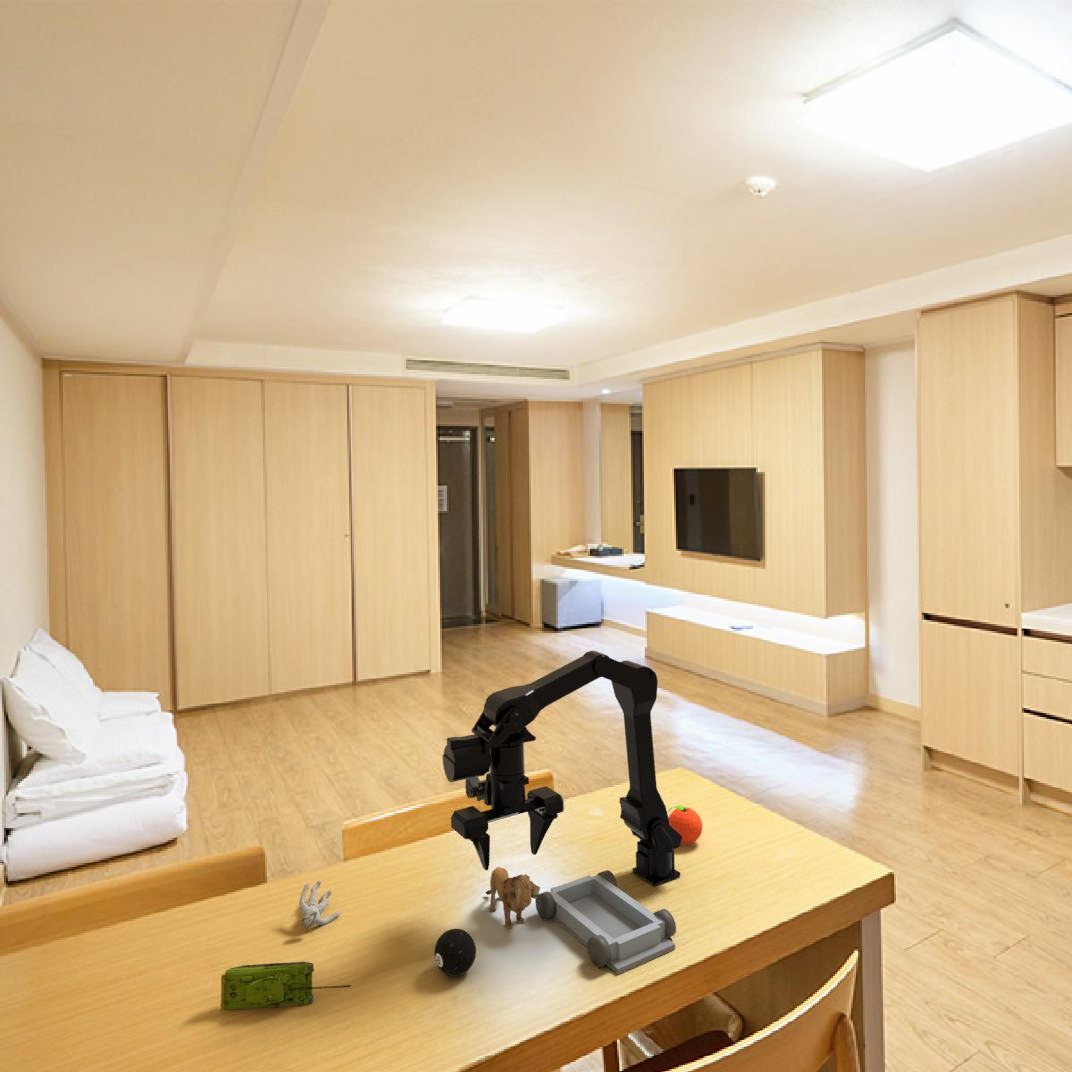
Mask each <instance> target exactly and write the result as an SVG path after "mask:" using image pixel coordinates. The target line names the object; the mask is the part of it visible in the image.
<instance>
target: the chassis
mask: <svg viewBox="0 0 1072 1072" xmlns="http://www.w3.org/2000/svg"><path fill="white" fill-rule="evenodd" d="M534 900H535V903H534V904H535V908H536V911H537V913H538V915H539V917H540V919H541V920H544V921H546V920H549V919H553V920H555V922H557V923H558V924H559V925H560V926H561V927H562V928H564V929H565V930H566V931H567V932H569V934H571V935H572V936H573V937H574V938H575V939H577V940H578V941H579V942H580V943H581V944H582V945H583V946H584V947H586V949H587V954H588V956H589V959H590V960H591V963H592V964H593V965H594V966H595V967H596V968H602V967H604V966H606V965H607V966H608V967H609V968H610V969H612V971H613V972H615V973H616V974H617V975H621V974H622V973H625V972H627V971H630V970H631V969H634V968H636V967H639V966H640V965H643V964H645V963H647V962H649V961H651V960H654V959H655V958H658V957H661V956H663V955H664V954H667V953H669V952H672V951H674V950H675V949H676V943H674V942H673V941H671V940H670V939H669V938H671V937H673V936H675V934H676V933H677V925H676V921H675V919H674V917H673V915H672V913H671V912H670V911H669V910H668V909H666V908H662V909H660V910H657V911H654V912H653V911H651V910H650V909H648V908H647V907H645V906H644V905H642V904H641V903H640V902H639V901H637V900H635V899H634V898H633V897H631V896H630V895H628V894H627V893H626V892H624V891H623V890H621V889H620V888H619V887H618V882H617V879H616V877H615V875H614V873H613V872H612V871H611V870H608V869H606V870H603V871H601V872H598V873H597V874H596V875H594V876H593V875H592V876H591V875H589V874H588V875H586V876H583V877H580V878H577V879H575V880H572V881H569V882H566V883H564V884H560V885H557V886H554V887H552V888H550V891H543V892H541V893H540V892H539V894H538V895H537V898H536V899H534Z"/></svg>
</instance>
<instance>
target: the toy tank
mask: <svg viewBox="0 0 1072 1072" xmlns="http://www.w3.org/2000/svg"><path fill="white" fill-rule="evenodd" d="M314 971H315V969H314V963H313V962H309V961H308V962H307V961H291V962H275V963H273V962H272V963H257V964H243V965H239V966H234V967H230V968H228V969H227V968H226V970H225V972H224V974H221V976H220V981H221V983H220V984H221V985H220V989H221V990H220V992H221V993H220V1011H225V1010H226V1011H227V1010H229V1011H230V1010H243V1009H259V1008H276V1009H277V1008H278V1007H279V1008H280V1007H293V1006H301V1005H302V1006H304V1005H311V1004H313V1003H314V993H313V990H317V989H319V990H320V989H325V988H326V989H338V988H341V989H342V988H351V986H352V985H351V984H349V985H345V984H344V985H342V986H341V985H329V986H322V987H320V986H313V972H314Z"/></svg>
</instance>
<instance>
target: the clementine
mask: <svg viewBox="0 0 1072 1072" xmlns="http://www.w3.org/2000/svg"><path fill="white" fill-rule="evenodd" d="M673 808H675V809H674V810H672V809H673ZM670 810H672V811H671V813H670ZM669 813H670V814H669ZM667 814H669V815H668V818H669V825H670V826H671V827H672V828H673V829H674V830H676V831H677V832H678V833H679V834H680V835H681V836H682V840H681V844H682V845H691V844H693V843H695V842H696V841H697V840H698V839H699V838H700V837H701V835H702V832H703V822H702V819H701V817H700V815H699V814H698V813H697V812H696V810H694V809H692V808H690V807H688V806H683V805H675V806H673V807H670V808H669V809H668V811H667ZM681 844H680V845H681Z"/></svg>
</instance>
